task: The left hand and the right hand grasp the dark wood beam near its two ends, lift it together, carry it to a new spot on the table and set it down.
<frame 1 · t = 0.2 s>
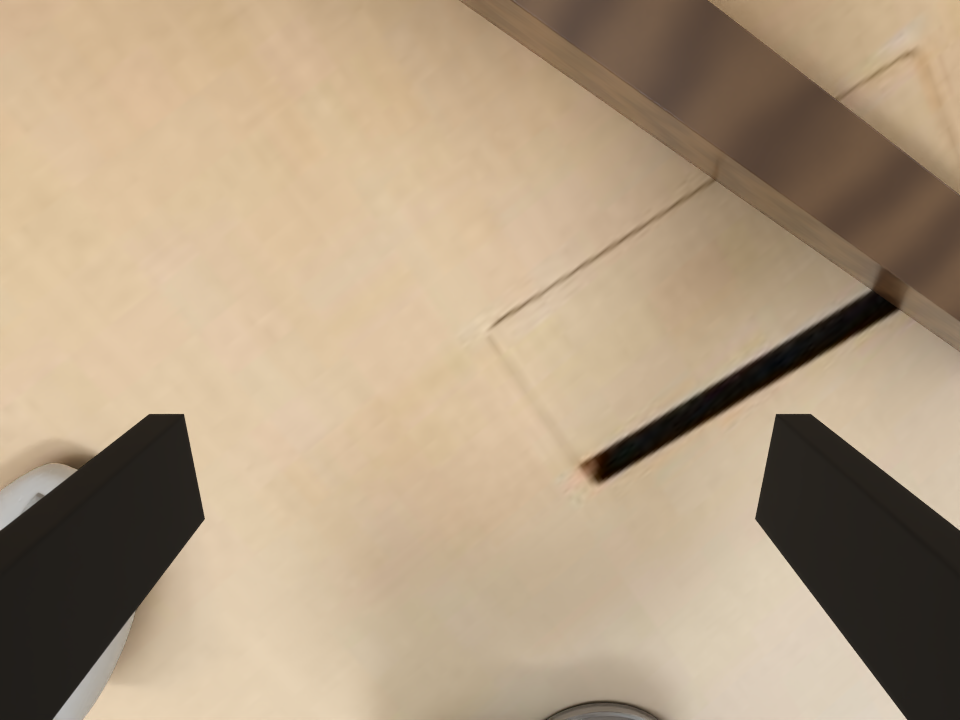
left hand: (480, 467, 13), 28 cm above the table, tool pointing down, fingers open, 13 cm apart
projector: (60, 567, 48), on the table
beam: (588, 36, 34), on the table
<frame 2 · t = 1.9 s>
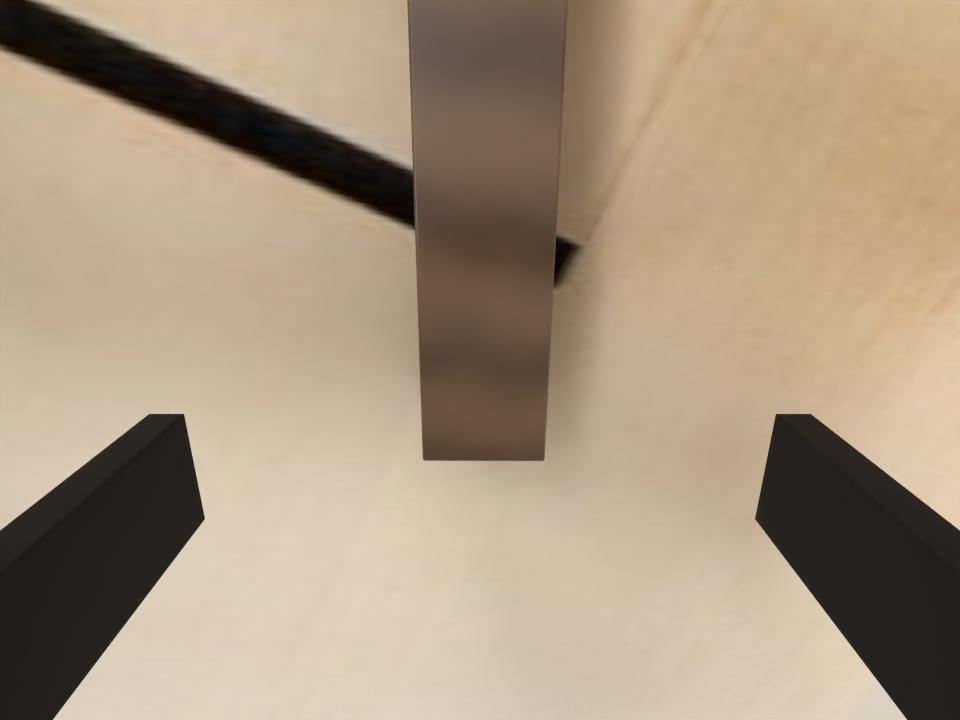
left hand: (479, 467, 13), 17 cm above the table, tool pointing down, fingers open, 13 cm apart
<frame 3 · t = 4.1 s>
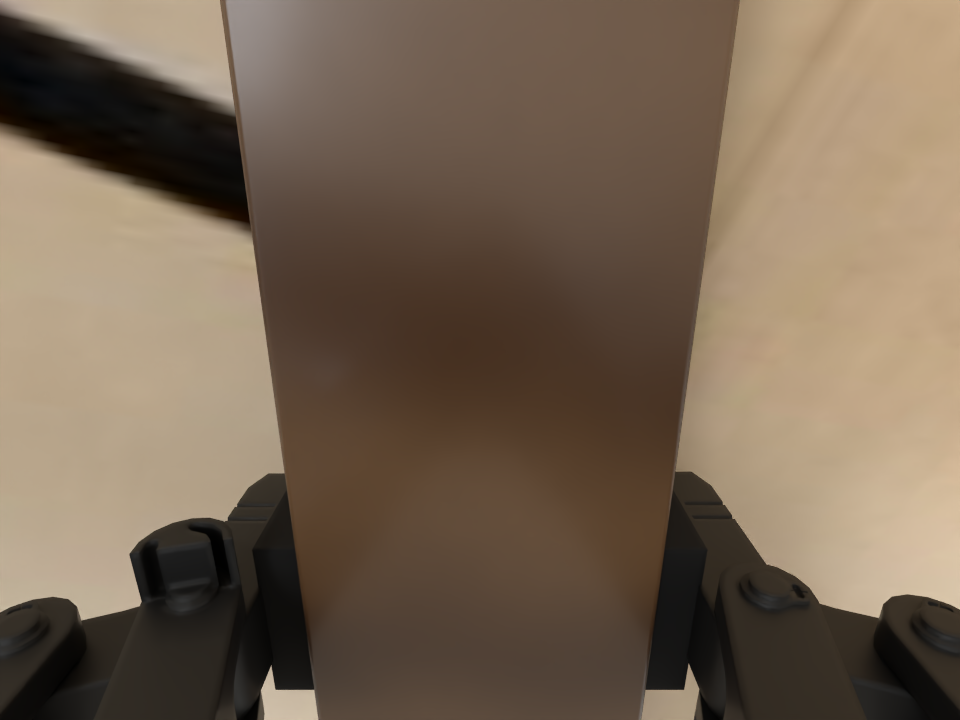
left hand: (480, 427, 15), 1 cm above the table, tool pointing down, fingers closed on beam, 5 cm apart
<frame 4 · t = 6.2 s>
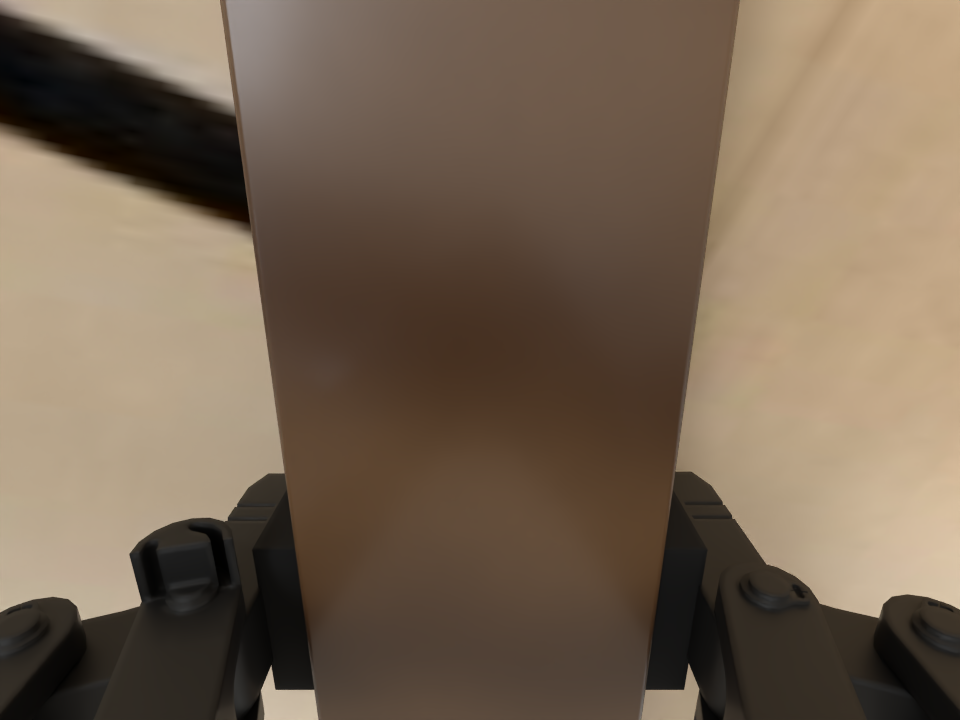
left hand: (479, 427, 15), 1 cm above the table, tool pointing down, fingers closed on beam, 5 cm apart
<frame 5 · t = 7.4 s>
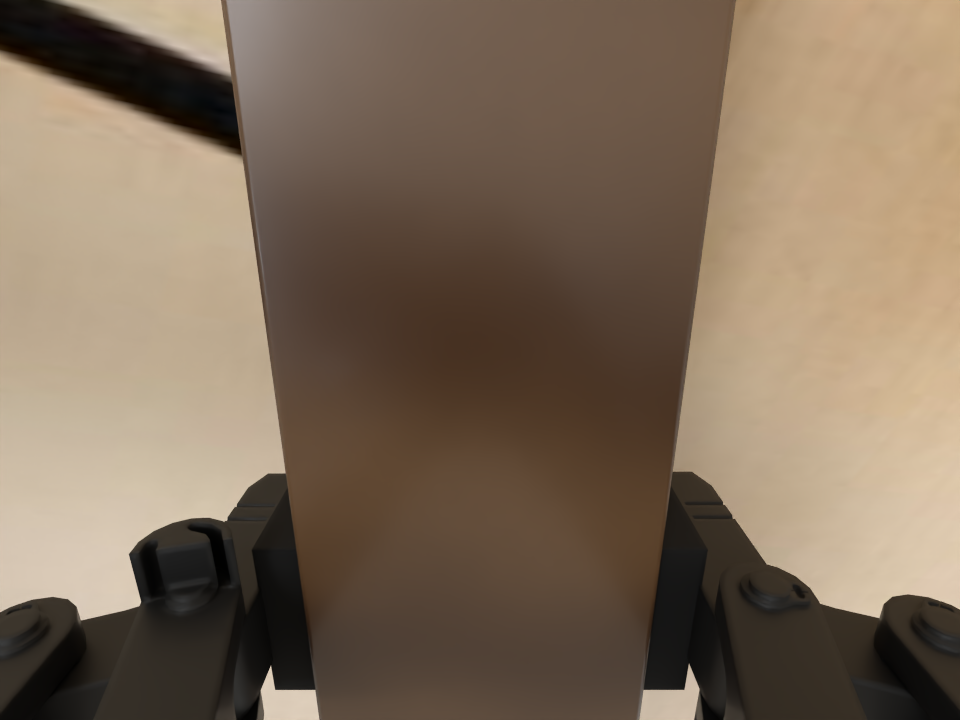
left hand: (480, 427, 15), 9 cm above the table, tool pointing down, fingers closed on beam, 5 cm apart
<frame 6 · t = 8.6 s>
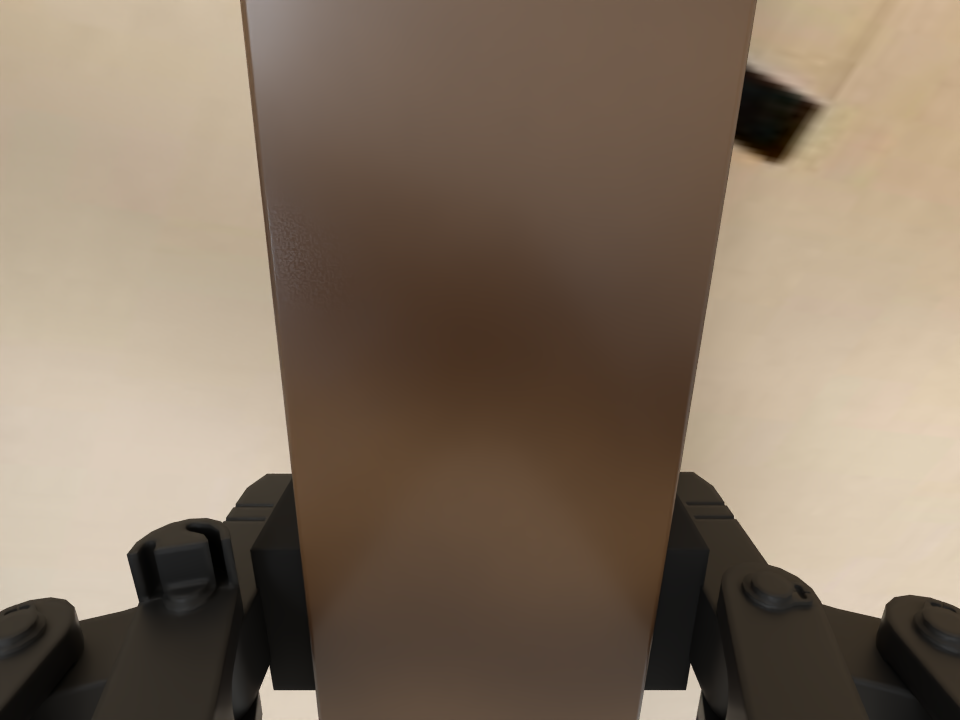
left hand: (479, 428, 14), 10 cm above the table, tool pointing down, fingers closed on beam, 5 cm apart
when the left hand's fingers open (2 cm above the table, at t = 11.0 s): beam drops 1 cm, on the table.
when the right hand's fingers open (4 cm above the table, at t = 11.2 s): beam stays where it is, on the table.
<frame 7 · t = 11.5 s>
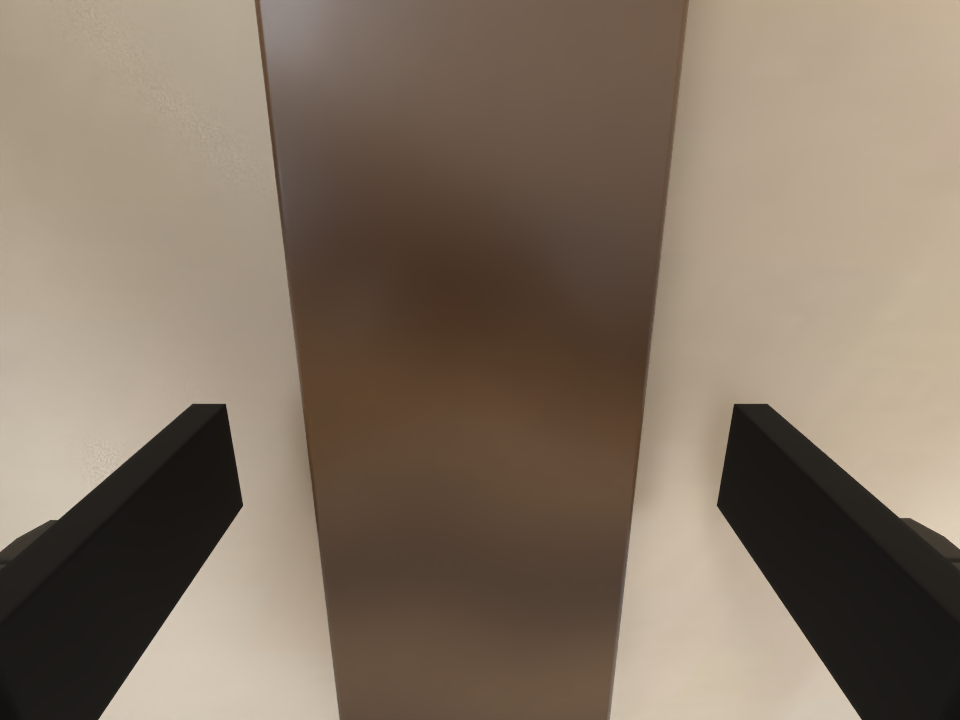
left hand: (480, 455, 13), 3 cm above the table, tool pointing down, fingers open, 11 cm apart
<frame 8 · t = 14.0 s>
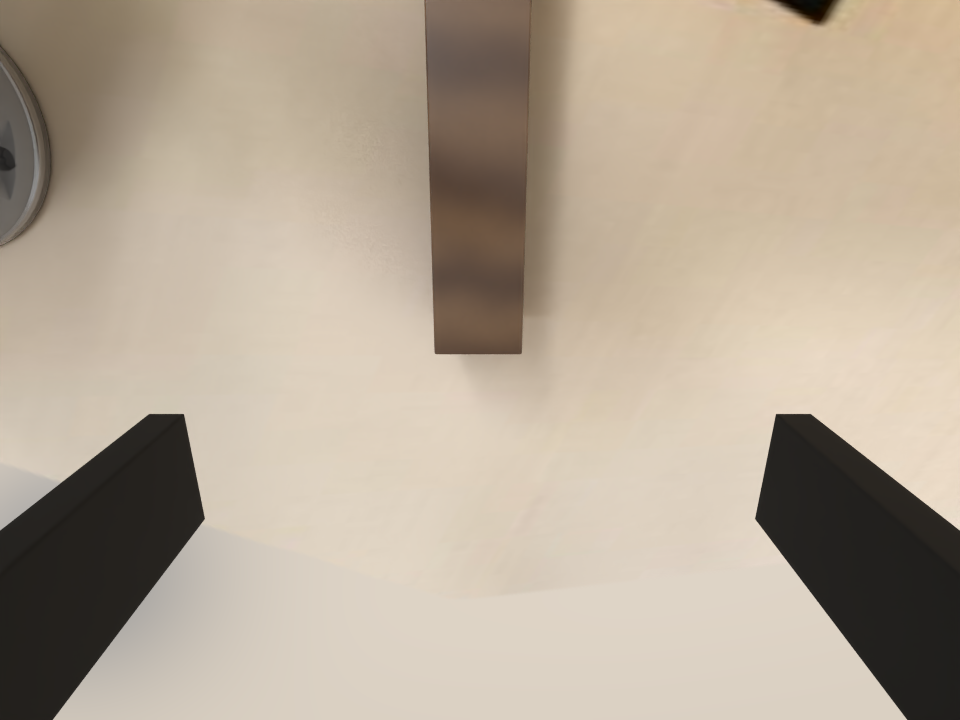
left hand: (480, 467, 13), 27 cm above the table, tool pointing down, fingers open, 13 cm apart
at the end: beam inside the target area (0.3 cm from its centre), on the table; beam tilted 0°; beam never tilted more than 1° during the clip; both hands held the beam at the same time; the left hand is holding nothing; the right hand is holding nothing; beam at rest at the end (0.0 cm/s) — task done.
